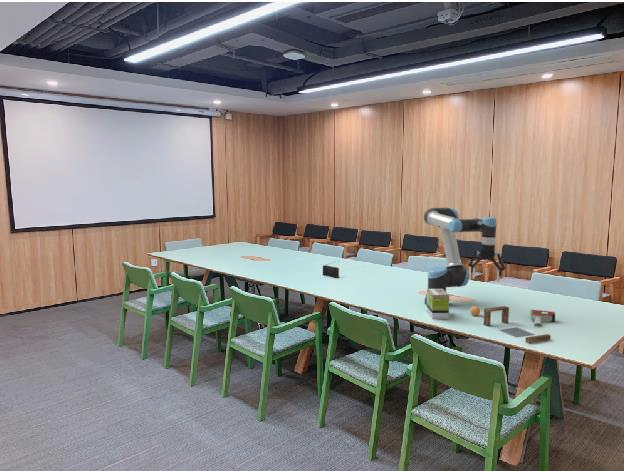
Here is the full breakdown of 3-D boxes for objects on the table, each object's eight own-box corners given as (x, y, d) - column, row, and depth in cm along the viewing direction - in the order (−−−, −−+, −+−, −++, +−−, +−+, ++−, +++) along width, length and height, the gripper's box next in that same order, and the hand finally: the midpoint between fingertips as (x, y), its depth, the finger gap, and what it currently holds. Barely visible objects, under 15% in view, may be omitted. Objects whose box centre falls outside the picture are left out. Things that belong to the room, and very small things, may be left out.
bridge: (483, 324, 248) (484, 308, 246) (504, 321, 252) (505, 305, 251) (487, 326, 245) (488, 309, 244) (508, 323, 250) (509, 307, 248)
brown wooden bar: (525, 342, 220) (525, 337, 220) (547, 338, 225) (547, 334, 224) (528, 343, 218) (528, 338, 218) (550, 340, 223) (550, 335, 223)
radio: (322, 275, 380) (322, 258, 378) (324, 274, 382) (324, 257, 380) (338, 278, 366) (338, 260, 364) (340, 278, 368) (340, 260, 366)
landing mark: (499, 330, 238) (499, 329, 238) (516, 327, 242) (516, 327, 242) (516, 337, 227) (516, 337, 227) (534, 334, 231) (534, 334, 231)
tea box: (425, 311, 273) (426, 288, 271) (442, 311, 272) (443, 288, 270) (431, 319, 258) (432, 294, 256) (449, 319, 257) (450, 294, 256)
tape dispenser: (536, 331, 242) (566, 325, 248) (536, 322, 241) (566, 316, 247) (513, 320, 259) (541, 315, 264) (513, 311, 258) (542, 306, 263)
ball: (468, 314, 266) (468, 305, 265) (475, 313, 268) (476, 304, 267) (474, 317, 261) (474, 308, 260) (482, 316, 263) (482, 307, 262)
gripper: (464, 242, 260) (462, 278, 264) (510, 247, 247) (507, 284, 250) (467, 241, 267) (465, 275, 270) (512, 245, 253) (509, 281, 256)
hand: (485, 279), depth 260 cm, fingers open, 13 cm apart
